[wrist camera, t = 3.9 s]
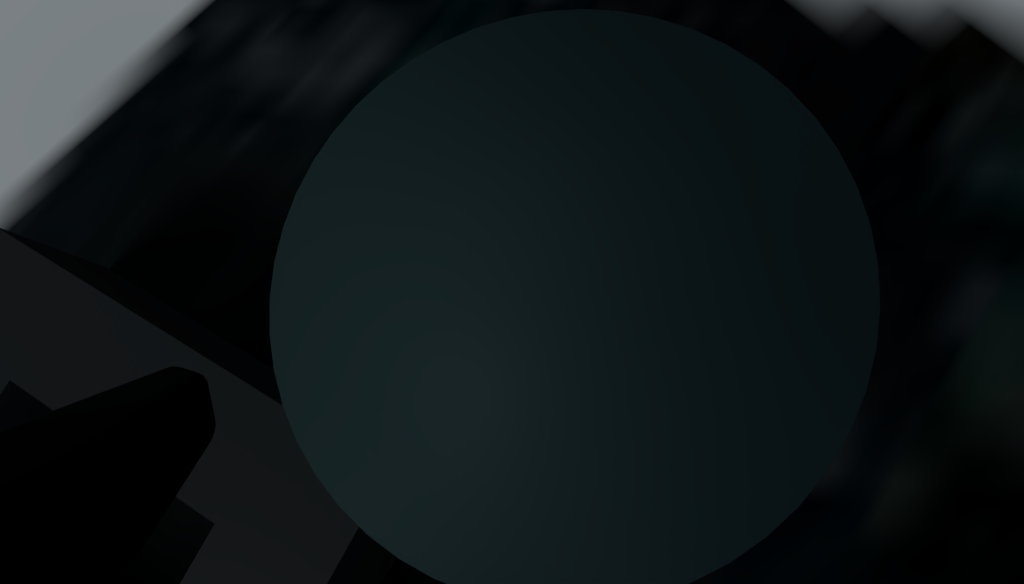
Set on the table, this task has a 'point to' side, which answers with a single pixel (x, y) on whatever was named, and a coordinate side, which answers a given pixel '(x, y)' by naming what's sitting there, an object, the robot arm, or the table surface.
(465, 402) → the long peg
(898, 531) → the table surface
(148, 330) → the socket block
